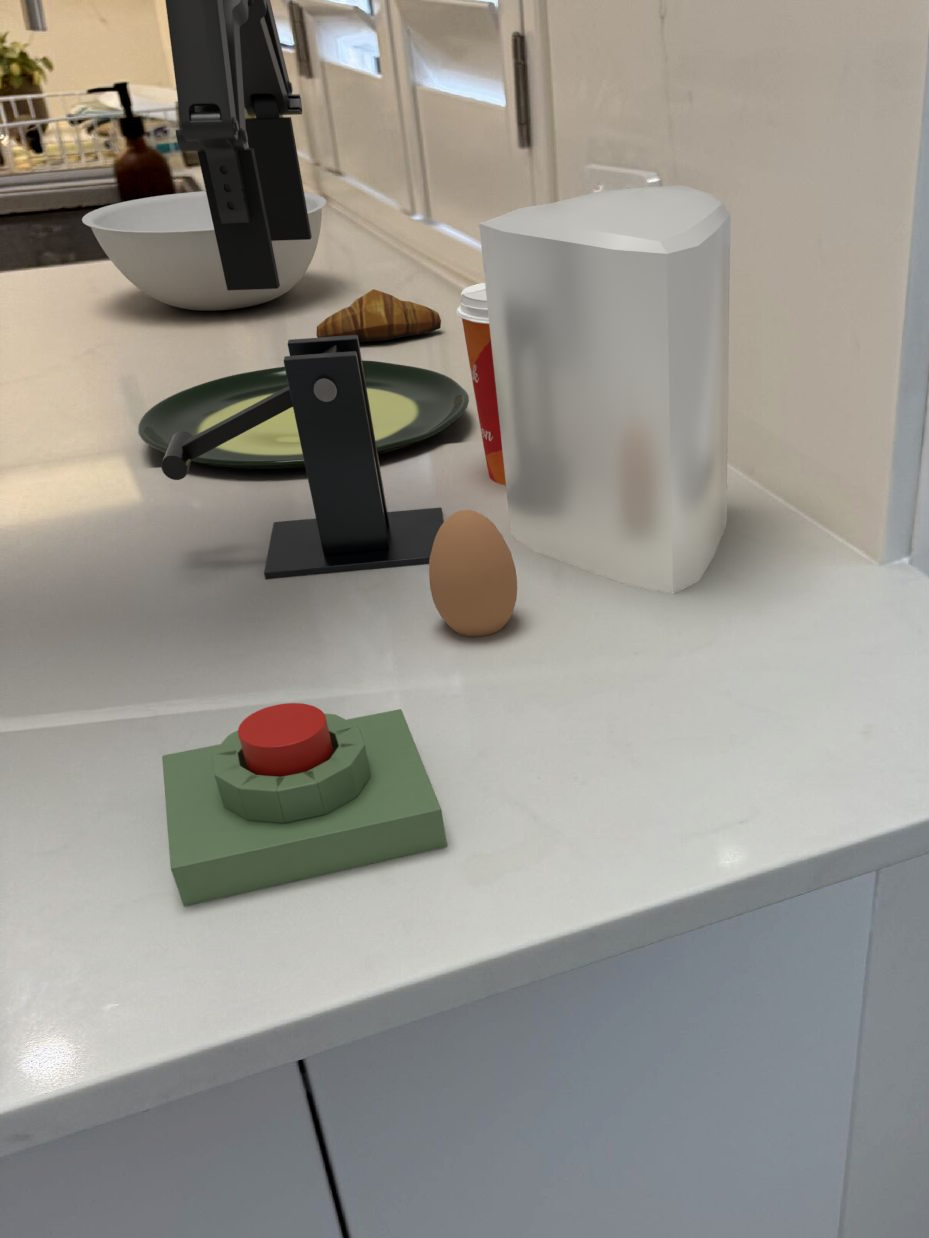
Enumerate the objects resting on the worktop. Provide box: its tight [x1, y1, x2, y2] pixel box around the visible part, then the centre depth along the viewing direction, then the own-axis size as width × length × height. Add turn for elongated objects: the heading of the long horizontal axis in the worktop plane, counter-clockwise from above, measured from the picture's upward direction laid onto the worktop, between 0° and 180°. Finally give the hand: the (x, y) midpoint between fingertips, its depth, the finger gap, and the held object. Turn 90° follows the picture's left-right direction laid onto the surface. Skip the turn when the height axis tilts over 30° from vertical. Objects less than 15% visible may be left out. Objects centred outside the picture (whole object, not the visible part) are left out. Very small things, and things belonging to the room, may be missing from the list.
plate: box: [137, 359, 470, 470], centre depth 105 cm, size 28×28×2 cm
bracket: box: [263, 335, 445, 580], centre depth 80 cm, size 12×9×14 cm
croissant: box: [315, 289, 442, 343], centre depth 129 cm, size 14×7×5 cm, turn 112°
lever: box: [160, 345, 340, 481], centre depth 78 cm, size 13×5×2 cm, turn 100°
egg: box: [428, 509, 518, 638], centre depth 72 cm, size 5×5×8 cm
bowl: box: [81, 190, 328, 312], centre depth 142 cm, size 27×27×10 cm
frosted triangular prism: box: [478, 184, 731, 595], centre depth 78 cm, size 15×14×22 cm
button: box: [237, 702, 333, 777], centre depth 56 cm, size 4×4×2 cm
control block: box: [161, 708, 448, 907], centre depth 58 cm, size 12×10×4 cm
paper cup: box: [456, 282, 506, 486], centre depth 90 cm, size 8×8×14 cm
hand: (273, 262), depth 71 cm, fingers open, 13 cm apart
